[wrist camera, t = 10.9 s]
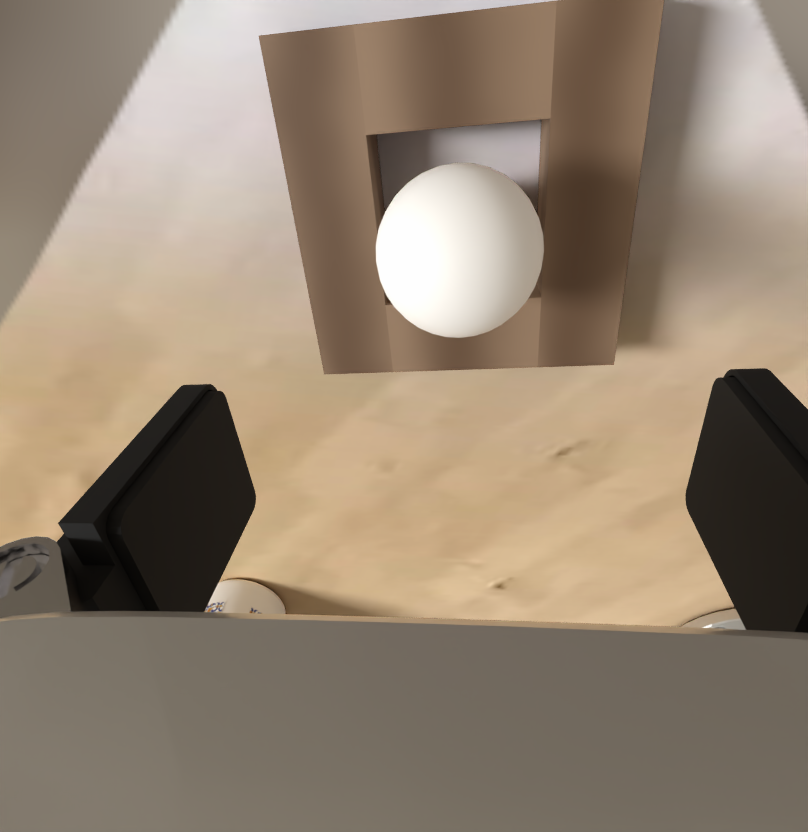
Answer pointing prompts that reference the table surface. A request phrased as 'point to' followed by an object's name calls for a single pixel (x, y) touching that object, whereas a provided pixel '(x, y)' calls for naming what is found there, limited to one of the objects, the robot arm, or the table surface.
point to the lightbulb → (459, 250)
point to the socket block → (454, 107)
